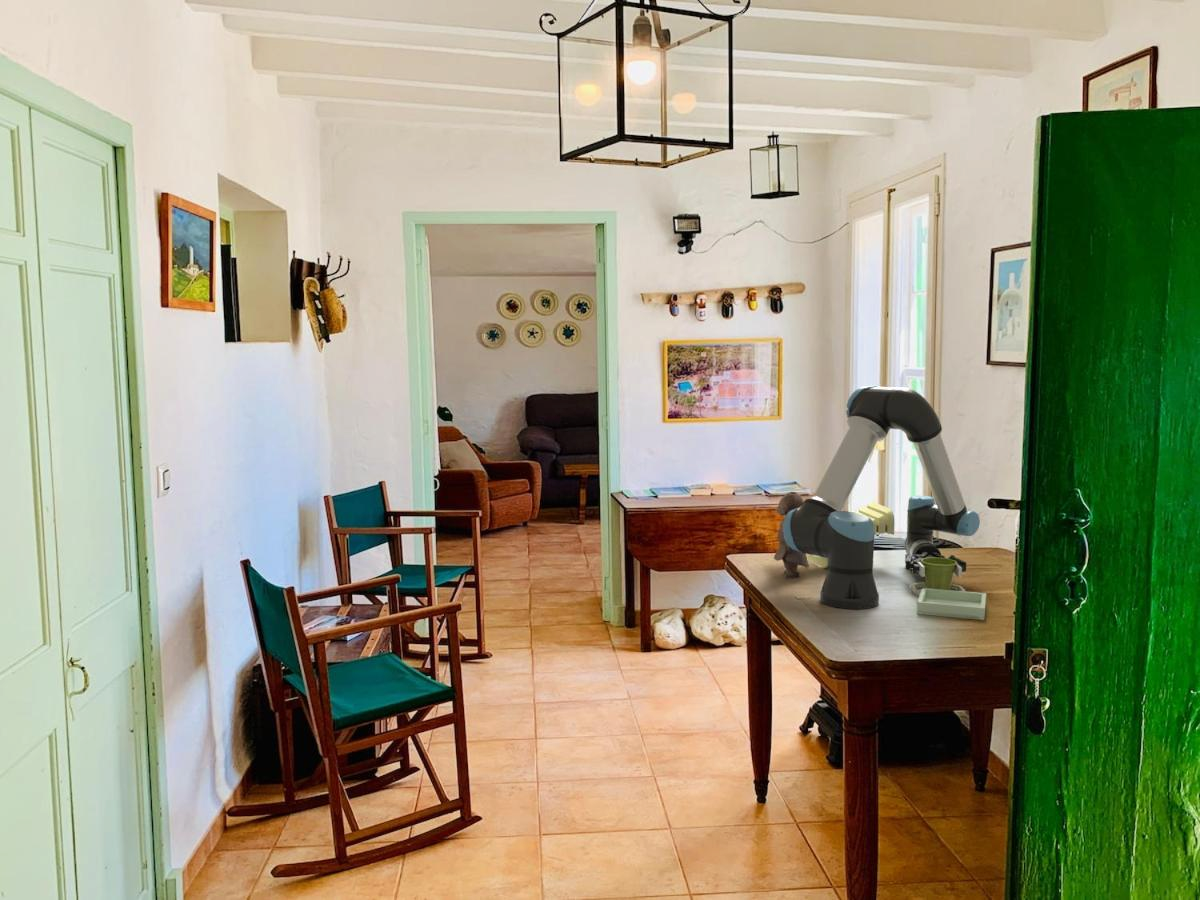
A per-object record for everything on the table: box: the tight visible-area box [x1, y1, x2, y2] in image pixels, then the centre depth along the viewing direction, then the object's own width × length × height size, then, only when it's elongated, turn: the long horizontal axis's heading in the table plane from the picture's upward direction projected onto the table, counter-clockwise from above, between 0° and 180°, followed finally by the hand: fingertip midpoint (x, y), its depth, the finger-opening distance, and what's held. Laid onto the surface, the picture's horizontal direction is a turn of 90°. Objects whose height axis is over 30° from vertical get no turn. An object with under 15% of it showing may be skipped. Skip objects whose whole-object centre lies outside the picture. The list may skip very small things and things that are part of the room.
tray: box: [916, 587, 987, 621], centre depth 266 cm, size 16×16×3 cm
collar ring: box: [910, 581, 967, 596], centre depth 284 cm, size 14×14×1 cm
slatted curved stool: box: [807, 501, 895, 569], centre depth 318 cm, size 30×16×18 cm, turn 99°
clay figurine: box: [773, 491, 809, 579], centre depth 301 cm, size 13×10×25 cm
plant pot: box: [921, 557, 957, 590], centre depth 284 cm, size 9×9×9 cm
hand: (941, 572), depth 279 cm, fingers closed on plant pot, 9 cm apart
